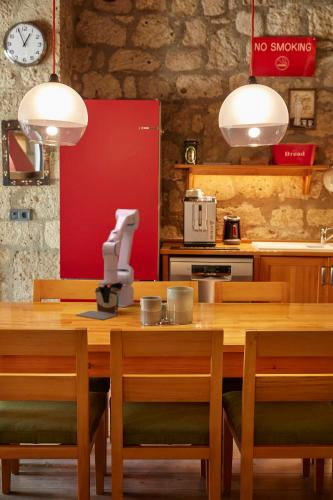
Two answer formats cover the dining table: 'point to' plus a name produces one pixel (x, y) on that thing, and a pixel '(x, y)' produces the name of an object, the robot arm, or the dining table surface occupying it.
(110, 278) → the robot arm
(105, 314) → the mat
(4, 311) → the dining table surface
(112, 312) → the food container
